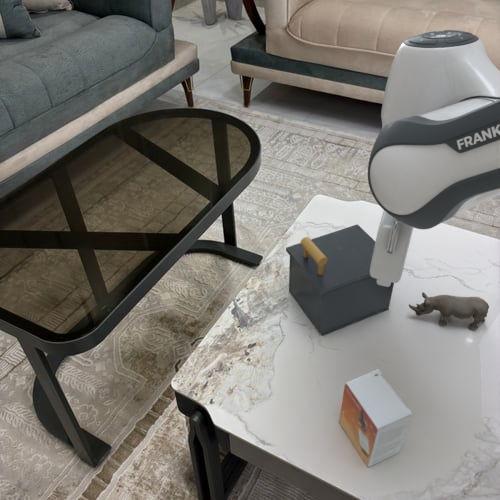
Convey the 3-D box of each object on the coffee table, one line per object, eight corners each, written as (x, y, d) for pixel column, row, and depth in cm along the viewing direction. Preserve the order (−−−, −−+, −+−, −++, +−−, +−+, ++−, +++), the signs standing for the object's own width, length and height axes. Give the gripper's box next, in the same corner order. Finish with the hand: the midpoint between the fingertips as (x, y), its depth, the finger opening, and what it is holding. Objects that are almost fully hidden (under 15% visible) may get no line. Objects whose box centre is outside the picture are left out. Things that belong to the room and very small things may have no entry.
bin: (321, 336, 89) (325, 293, 82) (288, 291, 97) (289, 249, 90) (388, 309, 93) (397, 267, 86) (351, 269, 101) (357, 227, 95)
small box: (337, 422, 76) (343, 381, 69) (369, 408, 77) (378, 367, 71) (367, 469, 70) (377, 429, 63) (400, 453, 72) (413, 413, 65)
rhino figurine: (405, 307, 93) (410, 284, 89) (483, 315, 91) (492, 292, 87) (406, 323, 90) (412, 300, 86) (487, 333, 88) (496, 309, 84)
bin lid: (321, 295, 81) (322, 273, 78) (285, 250, 90) (286, 229, 87) (397, 266, 86) (402, 245, 83) (357, 227, 95) (359, 206, 91)
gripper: (427, 231, 51) (402, 320, 60) (444, 138, 65) (421, 221, 75) (365, 218, 53) (350, 306, 62) (395, 130, 67) (379, 212, 76)
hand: (389, 259), depth 68 cm, fingers open, 8 cm apart
